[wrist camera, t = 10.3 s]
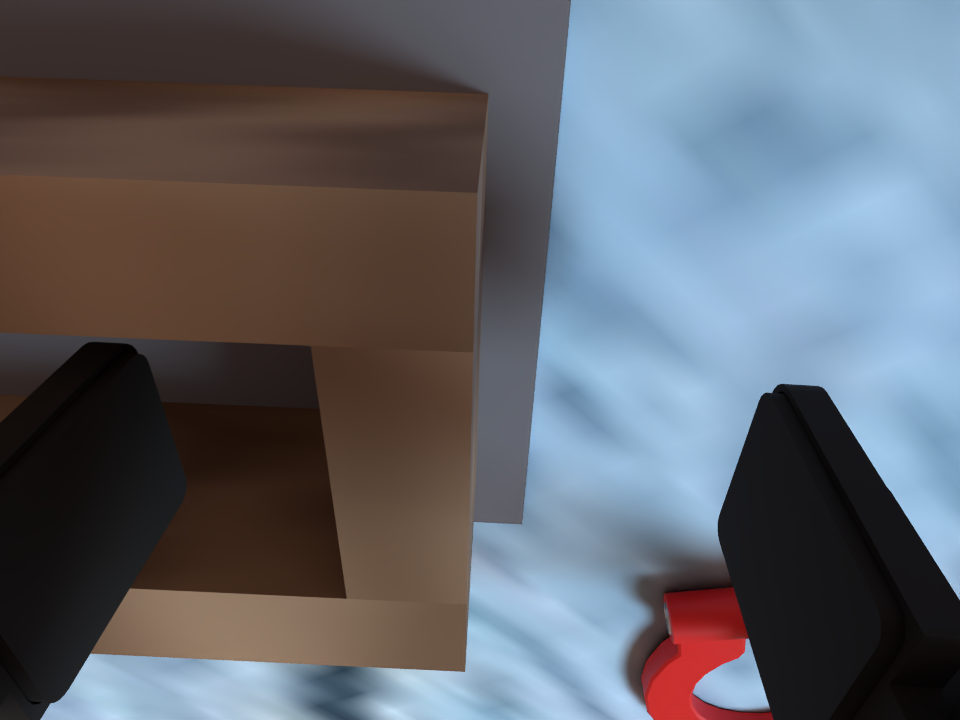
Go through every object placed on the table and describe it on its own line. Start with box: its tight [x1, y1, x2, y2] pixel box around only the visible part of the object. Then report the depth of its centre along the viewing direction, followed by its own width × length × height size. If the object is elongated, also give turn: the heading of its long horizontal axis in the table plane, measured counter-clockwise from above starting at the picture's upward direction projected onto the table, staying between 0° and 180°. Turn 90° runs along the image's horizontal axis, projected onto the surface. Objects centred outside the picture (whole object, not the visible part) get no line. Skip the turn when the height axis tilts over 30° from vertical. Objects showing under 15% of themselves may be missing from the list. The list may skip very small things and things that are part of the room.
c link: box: [0, 76, 488, 672], centre depth 11 cm, size 14×9×5 cm, turn 88°
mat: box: [0, 0, 571, 524], centre depth 14 cm, size 17×12×1 cm
